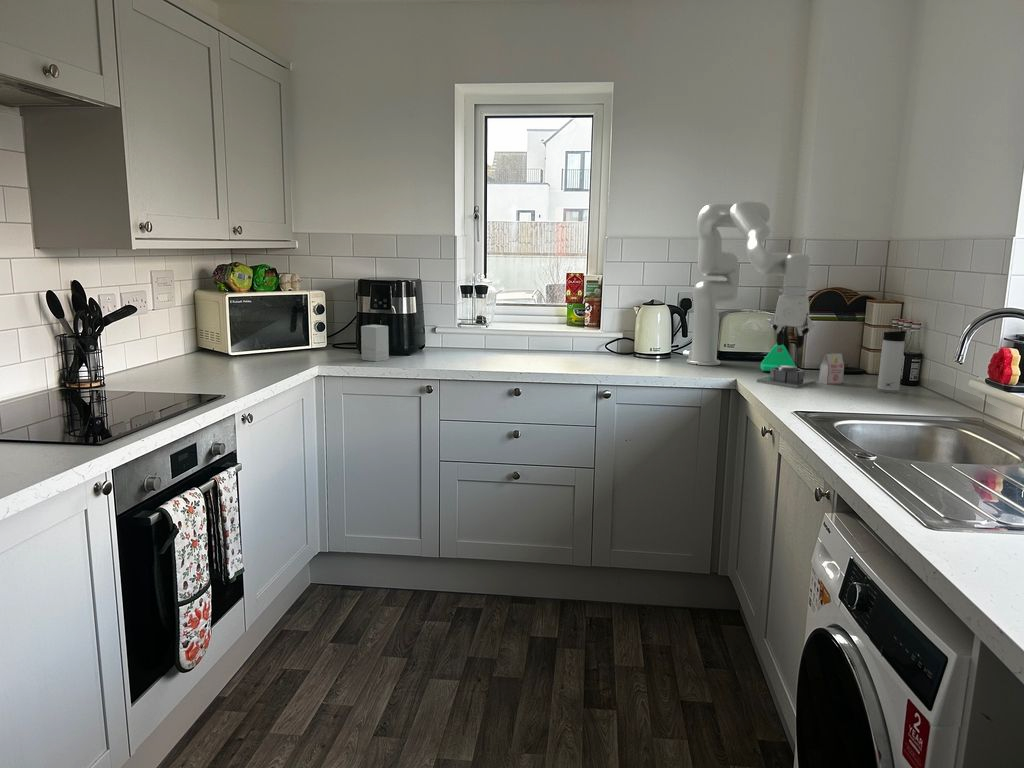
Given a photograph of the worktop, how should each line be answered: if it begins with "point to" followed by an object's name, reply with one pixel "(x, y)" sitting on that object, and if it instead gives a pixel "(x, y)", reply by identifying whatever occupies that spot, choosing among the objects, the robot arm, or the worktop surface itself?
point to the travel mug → (891, 362)
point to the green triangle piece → (777, 358)
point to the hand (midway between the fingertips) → (789, 345)
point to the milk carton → (831, 369)
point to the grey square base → (787, 378)
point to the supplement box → (374, 342)
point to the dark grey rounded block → (787, 368)
